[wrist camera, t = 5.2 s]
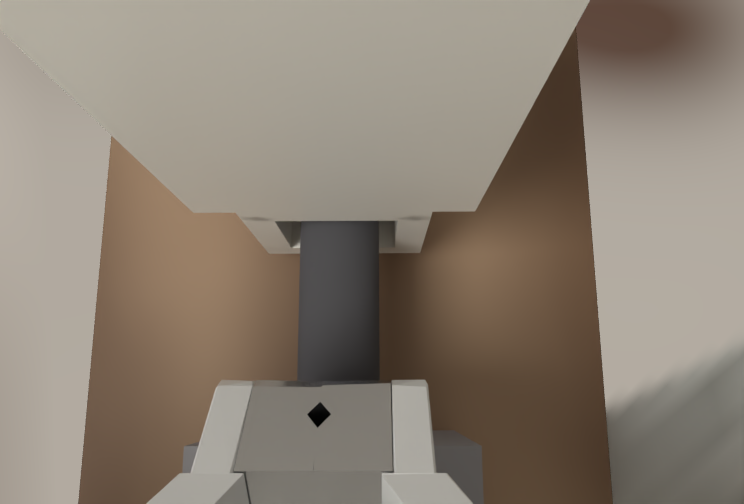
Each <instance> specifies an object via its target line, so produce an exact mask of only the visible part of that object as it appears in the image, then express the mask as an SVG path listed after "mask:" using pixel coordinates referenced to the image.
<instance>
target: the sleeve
mask: <svg viewBox="0 0 744 504" xmlns="http://www.w3.org/2000/svg"><path fill="white" fill-rule="evenodd" d="M589 1H590V0H0V31H1V32H2V33H3V34H5V35H6V36H7V37H8V38H9V39H10V40H11V41H12V42H13V43H14V44H15V45H16V46H17V47H18V48H19V49H20V50H21V51H23V52H24V53H25V54H26V55H27V56H28V57H29V58H30V59H31V60H32V61H33V62H34V63H35V64H37V66H38V67H39V68H41V69H42V70H43V71H44V72H45V73H46V74H47V75H48V76H49V77H50V78H51V79H52V80H53V81H54V82H55V83H56V84H57V85H58V86H60V87H61V88H62V89H63V90H64V91H65V92H66V93H67V94H68V95H69V96H70V97H71V98H72V99H74V101H76V102H77V103H78V104H79V105H80V106H81V107H82V108H83V109H84V110H85V111H86V112H87V113H88V114H89V115H90V116H91V117H92V118H93V119H95V120H96V121H97V122H98V123H99V124H100V125H101V126H102V127H103V128H104V129H105V130H106V131H107V132H108V133H109V134H110V135H111V136H112V137H114V138H115V139H116V140H117V141H118V142H119V143H120V144H121V145H122V146H123V147H124V148H125V149H126V150H127V151H128V152H129V153H130V154H132V155H133V156H134V157H135V158H136V159H137V160H138V161H139V162H140V163H141V164H142V165H143V166H144V167H145V168H146V169H147V170H148V171H149V172H151V173H152V174H153V175H154V176H155V177H156V178H157V179H158V180H159V181H160V182H161V183H162V184H163V185H164V186H165V187H166V188H167V189H169V190H170V191H171V192H172V193H173V194H174V195H175V196H176V197H177V198H178V199H179V200H180V201H181V202H182V203H183V204H184V205H185V206H187V207H188V208H189V209H190V210H191V211H192V212H193V213H236V214H237V215H238V216H239V218H240V219H241V220H242V221H243V223H244V224H245V225H246V226H247V227H248V229H249V230H250V231H251V232H252V234H253V235H254V236H255V237H256V239H257V240H258V241H259V242H260V243H261V245H262V246H263V247H264V248H265V250H266V251H267V252H268V253H269V254H300V232H301V221H379V253H420V252H421V248H422V245H423V242H424V239H425V235H426V232H427V229H428V225H429V222H430V219H431V216H432V212H467V211H476V209H477V207H478V205H479V203H480V202H481V200H482V198H483V196H484V194H485V192H486V191H487V189H488V187H489V185H490V183H491V181H492V179H493V178H494V176H495V174H496V172H497V170H498V168H499V167H500V165H501V163H502V161H503V159H504V157H505V156H506V154H507V152H508V150H509V148H510V146H511V145H512V143H513V141H514V139H515V137H516V135H517V134H518V132H519V130H520V128H521V126H522V124H523V122H524V121H525V119H526V117H527V115H528V113H529V111H530V110H531V108H532V106H533V104H534V102H535V100H536V99H537V97H538V95H539V93H540V91H541V89H542V88H543V86H544V84H545V82H546V80H547V78H548V77H549V75H550V73H551V71H552V69H553V67H554V66H555V64H556V62H557V60H558V58H559V56H560V54H561V53H562V51H563V49H564V47H565V45H566V43H567V42H568V40H569V38H570V36H571V34H572V32H573V31H574V29H575V27H576V25H577V23H578V21H579V19H580V18H581V16H582V14H583V12H584V10H585V8H586V7H587V5H588V3H589Z"/></svg>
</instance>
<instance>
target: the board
mask: <svg viewBox="0 0 744 504" xmlns="http://www.w3.org/2000/svg"><path fill="white" fill-rule="evenodd" d="M578 63H579V62H578V49H577V36H576V27H575V29H574V31H573V32H572V34H571V36H570V38H569V40H568V42H567V43H566V45H565V47H564V49H563V51H562V53H561V54H560V56H559V58H558V60H557V62H556V64H555V66H554V67H553V69H552V71H551V73H550V75H549V77H548V78H547V80H546V82H545V84H544V86H543V88H542V89H541V91H540V93H539V95H538V97H537V99H536V100H535V102H534V104H533V106H532V108H531V110H530V111H529V113H528V115H527V117H526V119H525V121H524V122H523V124H522V126H521V128H520V130H519V132H518V134H517V135H516V137H515V139H514V141H513V143H512V145H511V146H510V148H509V150H508V152H507V154H506V156H505V157H504V159H503V161H502V163H501V165H500V167H499V168H498V170H497V172H496V174H495V176H494V178H493V179H492V181H491V183H490V185H489V187H488V189H487V191H486V192H485V194H484V196H483V198H482V200H481V202H480V203H479V205H478V207H477V209H476V211H467V212H432V216H431V219H430V222H429V225H428V229H427V232H426V235H425V239H424V242H423V245H422V248H421V252H420V253H379V347H380V380H390V381H392V380H426V382H427V384H428V390H429V401H430V411H431V422H432V430H454V431H456V432H458V433H460V434H461V435H463V436H465V437H467V438H468V439H470V440H472V441H474V442H476V443H477V444H479V445H481V446H482V470H483V497H484V504H613V499H612V487H611V474H610V461H609V448H608V435H607V422H606V409H605V397H604V384H603V371H602V359H601V345H600V332H599V320H598V307H597V294H596V281H595V268H594V255H593V243H592V231H591V230H592V229H591V216H590V204H589V191H588V178H587V165H586V152H585V139H584V127H583V115H582V101H581V88H580V76H579V64H578ZM299 277H300V254H269V253H268V252H267V251H266V250H265V248H264V247H263V246H262V245H261V243H260V242H259V241H258V240H257V239H256V237H255V236H254V235H253V234H252V232H251V231H250V230H249V229H248V227H247V226H246V225H245V224H244V223H243V221H242V220H241V219H240V218H239V216H238V215H237V214H236V213H193V212H192V211H191V210H190V209H189V208H188V207H187V206H185V205H184V204H183V203H182V202H181V201H180V200H179V199H178V198H177V197H176V196H175V195H174V194H173V193H172V192H171V191H170V190H169V189H167V188H166V187H165V186H164V185H163V184H162V183H161V182H160V181H159V180H158V179H157V178H156V177H155V176H154V175H153V174H152V173H151V172H149V171H148V170H147V169H146V168H145V167H144V166H143V165H142V164H141V163H140V162H139V161H138V160H137V159H136V158H135V157H134V156H133V155H132V154H130V153H129V152H128V151H127V150H126V149H125V148H124V147H123V146H122V145H121V144H120V143H119V142H118V141H117V140H116V139H115V138H114V137H111V148H110V158H109V170H108V180H107V192H106V203H105V215H104V225H103V236H102V248H101V259H100V269H99V280H98V292H97V302H96V313H95V325H94V336H93V347H92V358H91V369H90V380H89V392H88V402H87V413H86V425H85V436H84V446H83V447H84V448H83V457H82V468H81V469H82V470H81V479H80V490H79V502H78V504H146V503H147V502H149V501H150V500H151V499H152V498H153V497H154V496H155V495H156V494H157V493H158V492H160V491H161V490H162V489H163V488H164V487H165V486H166V485H167V484H168V483H169V482H170V481H172V480H173V479H174V478H175V477H176V476H177V475H178V474H179V473H182V469H183V452H184V446H186V445H190V444H193V443H196V442H200V439H201V435H202V432H203V429H204V425H205V422H206V419H207V415H208V412H209V409H210V405H211V402H212V399H213V395H214V392H215V389H216V387H217V386H218V384H219V383H220V381H221V380H245V381H256V380H279V381H297V366H298V322H299Z"/></svg>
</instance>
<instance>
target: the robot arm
mask: <svg viewBox="0 0 744 504" xmlns="http://www.w3.org/2000/svg"><path fill="white" fill-rule="evenodd" d="M146 504H473V502H472V501H471V500H470V499H469V498H468V497H467V496H466V494H465V493H464V492H463V491H462V490H461V489H460V487H459V486H458V485H457V484H456V483H455V482H454V480H453V479H452V478H451V477H450V476H449V475H448V473H436V463H435V453H434V442H433V432H432V422H431V411H430V401H429V390H428V384H427V382H426V380H392V381H390V380H367V381H279V380H256V381H245V380H221V381H220V383H219V384H218V386H217V387H216V389H215V392H214V395H213V399H212V402H211V405H210V409H209V412H208V415H207V419H206V422H205V425H204V429H203V432H202V435H201V439H200V442H199V446H198V449H197V452H196V456H195V459H194V462H193V466H192V469H191V472H190V473H179V474H178V475H177V476H176V477H175V478H174V479H173V480H172V481H170V482H169V483H168V484H167V485H166V486H165V487H164V488H163V489H162V490H161V491H160V492H158V493H157V494H156V495H155V496H154V497H153V498H152V499H151V500H150V501H149V502H147V503H146Z"/></svg>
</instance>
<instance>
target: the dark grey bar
mask: <svg viewBox="0 0 744 504" xmlns="http://www.w3.org/2000/svg"><path fill="white" fill-rule="evenodd" d="M367 380H380V347H379V221H301V232H300V277H299V322H298V366H297V381H367ZM432 432H433V442H434V453H435V463H436V473H448V475H449V476H450V477H451V478H452V479H453V480H454V482H455V483H456V484H457V485H458V486H459V487H460V489H461V490H462V491H463V492H464V493H465V494H466V496H467V497H468V498H469V499H470V500H471V501H472V502H473V504H484V497H483V470H482V446H481V445H479V444H477V443H476V442H474V441H472V440H470V439H468V438H467V437H465V436H463V435H461V434H460V433H458V432H456V431H454V430H432ZM198 446H199V442H196V443H193V444H190V445H186V446H184V452H183V469H182V473H190V472H191V469H192V466H193V462H194V459H195V456H196V452H197V449H198Z"/></svg>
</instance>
